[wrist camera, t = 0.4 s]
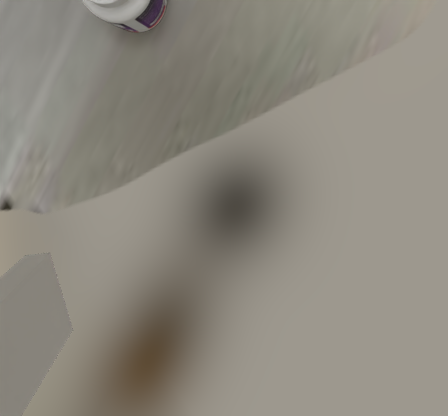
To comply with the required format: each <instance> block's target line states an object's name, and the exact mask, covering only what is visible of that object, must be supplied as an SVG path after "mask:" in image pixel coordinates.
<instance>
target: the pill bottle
mask: <svg viewBox="0 0 448 416" xmlns="http://www.w3.org/2000/svg"><path fill="white" fill-rule="evenodd" d="M82 2H83V3H84V5H85V6H86V7H87V8H88V9H89V10H90V11H91V12H92V13H93V14H94V15H95V16H97V17H98V18H100V19H102V20H104V21H106V22H108V23H111V24H113V25H115V26H118V27H120V28H122V29H124V30H127V31H131V32H144V31H148V30H150V29H152V28H153V27H155V26H156V25H157V24H158V23H159V22H160V20H161V19H162V17H163V15H164V13H165V10H166V5H167V0H82Z"/></svg>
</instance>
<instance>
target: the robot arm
mask: <svg viewBox="0 0 448 416" xmlns="http://www.w3.org/2000/svg"><path fill="white" fill-rule="evenodd" d="M72 331H73V328H72V324H71V321H70V318H69V314H68V311H67V308H66V304H65V301H64V298H63V294H62V291H61V288H60V284H59V281H58V278H57V274H56V271H55V268H54V264H53V261H52V258H51V254H50V253H43V254H35V255H25V256H24V257H23V258H22V259H21V260H19V261H18V263H16V264H15V265H14V266H13V267H12V268H11V269H9V270H8V271H7V272H6V273H5V274H4V275H3V276H2V277H1V278H0V416H22V414H23V412H24V411H25V409H26V407H27V406H28V404H29V402H30V401H31V399H32V397H33V396H34V394H35V392H36V391H37V389H38V388H39V386H40V384H41V383H42V381H43V379H44V378H45V376H46V374H47V372H48V371H49V369H50V367H51V366H52V364H53V363H54V361H55V359H56V358H57V356H58V354H59V352H60V351H61V349H62V348H63V346H64V344H65V343H66V341H67V339H68V338H69V336H70V334H71V333H72Z"/></svg>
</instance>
